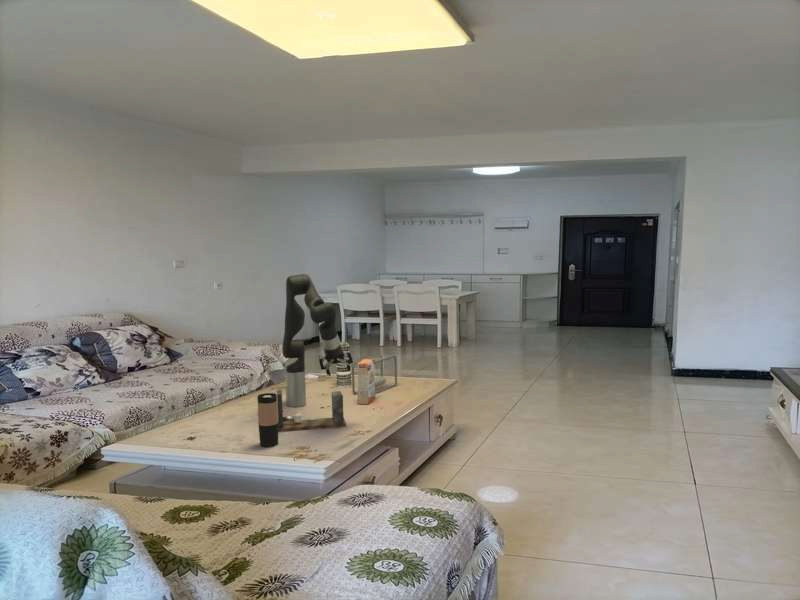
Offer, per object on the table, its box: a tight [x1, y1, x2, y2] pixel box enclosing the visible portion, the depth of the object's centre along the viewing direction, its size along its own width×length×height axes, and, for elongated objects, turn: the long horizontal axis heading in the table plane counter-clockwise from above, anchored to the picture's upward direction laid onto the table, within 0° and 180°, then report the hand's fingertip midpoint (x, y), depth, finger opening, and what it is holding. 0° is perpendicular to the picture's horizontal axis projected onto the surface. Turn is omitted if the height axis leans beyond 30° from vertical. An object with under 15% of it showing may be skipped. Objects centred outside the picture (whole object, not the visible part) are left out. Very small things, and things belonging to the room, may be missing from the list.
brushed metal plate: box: [276, 389, 295, 427], centre depth 265 cm, size 7×9×14 cm
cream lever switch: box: [294, 411, 303, 422], centre depth 268 cm, size 3×7×3 cm, turn 12°
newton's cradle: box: [351, 354, 398, 395], centre depth 334 cm, size 30×10×18 cm, turn 150°
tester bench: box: [278, 390, 347, 433], centre depth 267 cm, size 32×11×14 cm, turn 102°
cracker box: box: [356, 358, 376, 405], centre depth 309 cm, size 14×6×21 cm, turn 168°
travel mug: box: [257, 392, 279, 448], centre depth 242 cm, size 8×8×20 cm
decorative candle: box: [335, 341, 352, 388], centre depth 346 cm, size 9×9×25 cm
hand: (339, 372), depth 269 cm, fingers open, 8 cm apart
